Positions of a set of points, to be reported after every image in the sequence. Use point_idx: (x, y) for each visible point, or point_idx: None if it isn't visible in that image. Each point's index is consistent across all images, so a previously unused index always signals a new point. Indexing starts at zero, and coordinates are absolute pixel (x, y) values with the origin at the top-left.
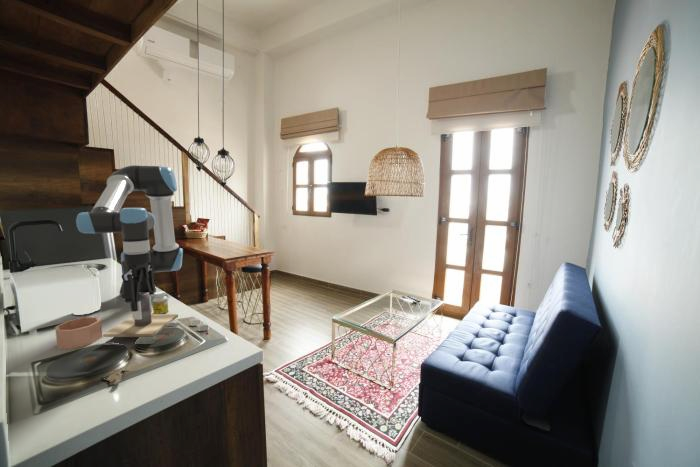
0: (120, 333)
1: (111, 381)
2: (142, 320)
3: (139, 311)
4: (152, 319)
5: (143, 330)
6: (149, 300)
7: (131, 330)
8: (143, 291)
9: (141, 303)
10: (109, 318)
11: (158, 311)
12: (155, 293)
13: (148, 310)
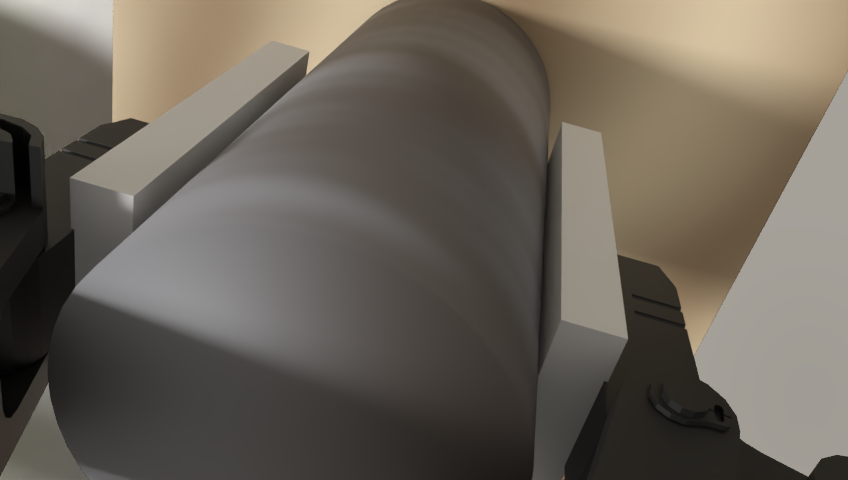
0: (711, 287)
1: None
2: (547, 108)
3: (602, 208)
4: (312, 14)
5: (740, 16)
6: (326, 122)
7: (661, 187)
8: (16, 425)
9: (534, 259)
10: (21, 461)
11: None
12: None
13: (455, 66)
